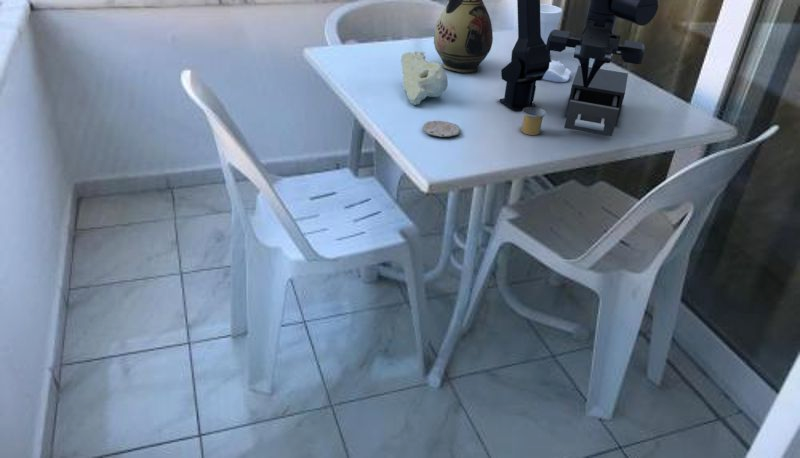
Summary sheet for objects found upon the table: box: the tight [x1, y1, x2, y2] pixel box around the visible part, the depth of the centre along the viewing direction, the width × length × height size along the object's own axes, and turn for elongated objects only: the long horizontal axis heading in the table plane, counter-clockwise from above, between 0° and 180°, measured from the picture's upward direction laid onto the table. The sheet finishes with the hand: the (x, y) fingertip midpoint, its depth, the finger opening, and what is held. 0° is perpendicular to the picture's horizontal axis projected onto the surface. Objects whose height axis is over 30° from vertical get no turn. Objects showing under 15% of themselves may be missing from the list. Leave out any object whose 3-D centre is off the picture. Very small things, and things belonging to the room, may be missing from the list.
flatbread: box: [422, 120, 460, 138], centre depth 139 cm, size 8×8×1 cm
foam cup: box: [540, 3, 563, 44], centre depth 182 cm, size 10×9×13 cm
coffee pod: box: [521, 106, 547, 136], centre depth 141 cm, size 5×5×5 cm
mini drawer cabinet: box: [564, 65, 629, 127], centre depth 151 cm, size 14×12×8 cm
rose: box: [542, 60, 572, 83], centre depth 170 cm, size 10×4×10 cm
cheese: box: [400, 50, 449, 106], centre depth 154 cm, size 15×7×15 cm
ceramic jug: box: [433, 0, 494, 74], centre depth 165 cm, size 17×15×30 cm
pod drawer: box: [563, 89, 619, 138], centre depth 142 cm, size 17×10×6 cm, turn 161°
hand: (585, 86), depth 134 cm, fingers closed
